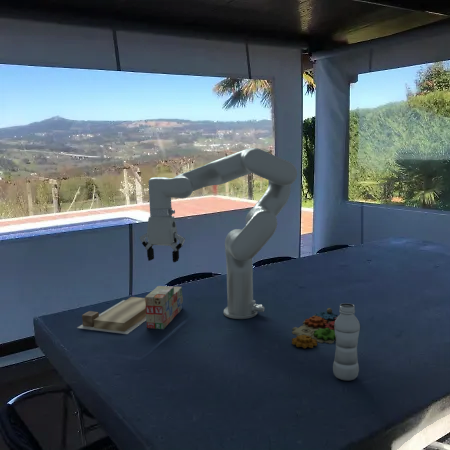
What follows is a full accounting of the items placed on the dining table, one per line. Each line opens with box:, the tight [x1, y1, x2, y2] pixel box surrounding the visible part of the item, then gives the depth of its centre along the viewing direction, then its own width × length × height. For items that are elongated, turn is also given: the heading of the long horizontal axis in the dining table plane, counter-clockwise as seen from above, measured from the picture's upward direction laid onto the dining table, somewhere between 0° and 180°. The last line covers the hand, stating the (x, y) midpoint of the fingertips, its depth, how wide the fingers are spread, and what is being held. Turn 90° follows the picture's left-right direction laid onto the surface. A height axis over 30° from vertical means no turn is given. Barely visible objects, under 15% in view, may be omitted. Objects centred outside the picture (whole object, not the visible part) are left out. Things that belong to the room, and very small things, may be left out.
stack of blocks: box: [144, 285, 184, 330], centre depth 164 cm, size 21×6×12 cm, turn 167°
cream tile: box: [76, 299, 147, 335], centre depth 168 cm, size 20×30×1 cm, turn 161°
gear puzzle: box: [291, 307, 339, 349], centre depth 150 cm, size 31×16×4 cm, turn 141°
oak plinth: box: [94, 296, 146, 332], centre depth 166 cm, size 12×25×3 cm, turn 161°
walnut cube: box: [81, 310, 100, 327], centre depth 160 cm, size 4×4×4 cm
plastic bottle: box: [332, 302, 361, 381], centre depth 119 cm, size 6×7×20 cm
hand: (163, 260), depth 161 cm, fingers open, 9 cm apart
